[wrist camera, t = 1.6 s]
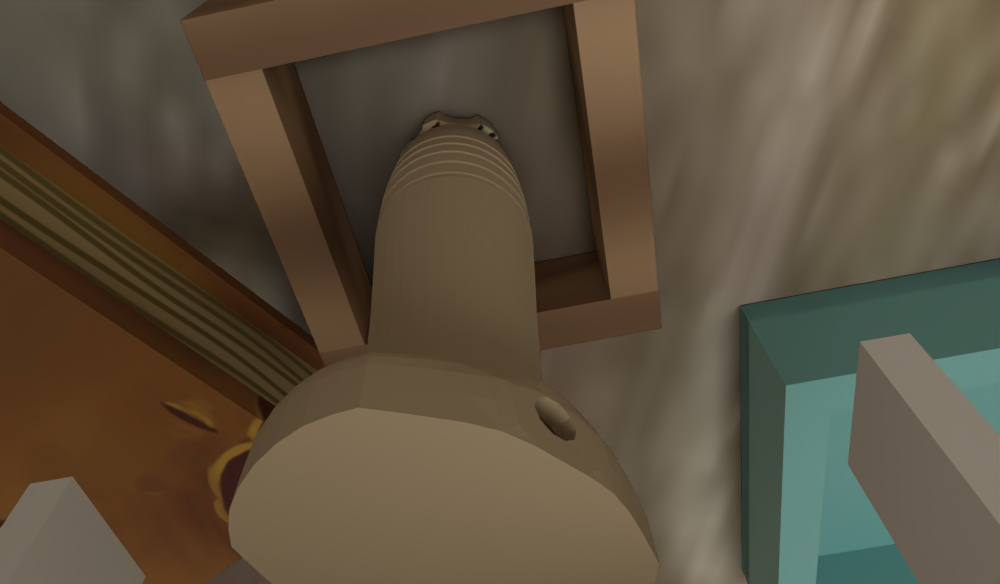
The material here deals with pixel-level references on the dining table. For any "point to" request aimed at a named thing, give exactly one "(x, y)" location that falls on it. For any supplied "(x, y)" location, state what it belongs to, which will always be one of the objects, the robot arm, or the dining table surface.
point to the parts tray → (844, 414)
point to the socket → (314, 195)
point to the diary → (128, 361)
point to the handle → (441, 412)
